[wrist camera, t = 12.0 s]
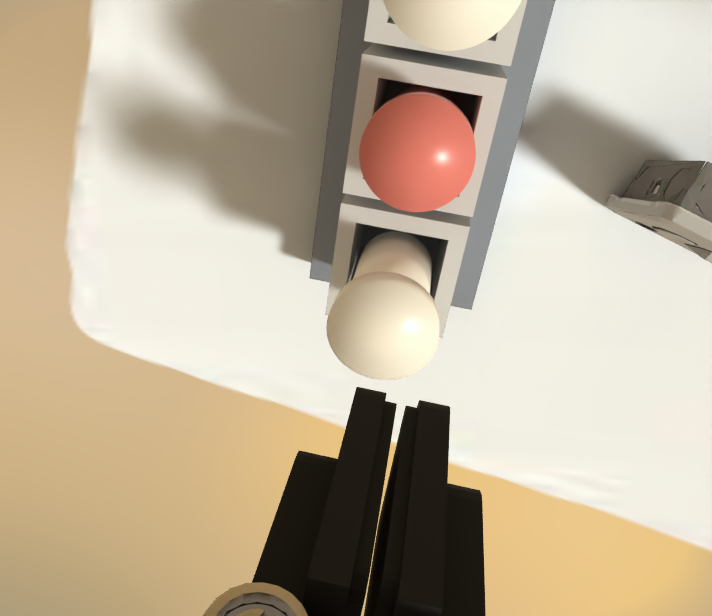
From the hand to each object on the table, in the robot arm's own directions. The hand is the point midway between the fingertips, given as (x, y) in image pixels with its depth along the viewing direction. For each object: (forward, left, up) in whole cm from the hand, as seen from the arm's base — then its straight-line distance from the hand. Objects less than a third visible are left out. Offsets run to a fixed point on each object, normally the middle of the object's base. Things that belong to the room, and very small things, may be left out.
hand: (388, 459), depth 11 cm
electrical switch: (-17, +3, -35) cm, 39 cm away
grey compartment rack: (+1, 0, -35) cm, 35 cm away
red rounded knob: (+1, 0, -30) cm, 30 cm away
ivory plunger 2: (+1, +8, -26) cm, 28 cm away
